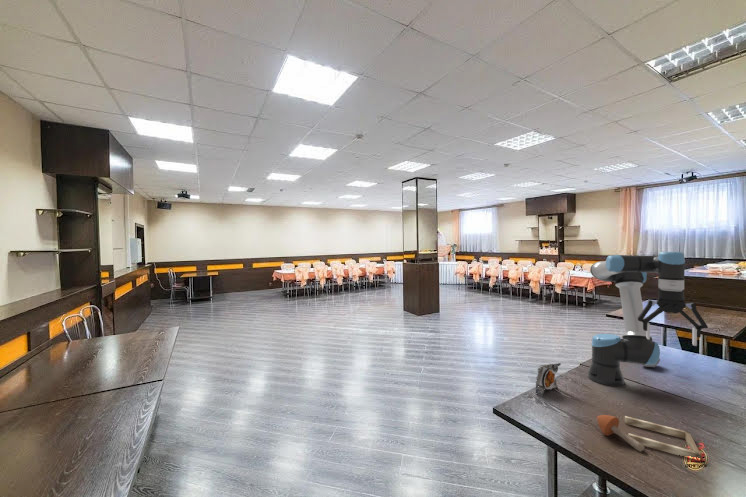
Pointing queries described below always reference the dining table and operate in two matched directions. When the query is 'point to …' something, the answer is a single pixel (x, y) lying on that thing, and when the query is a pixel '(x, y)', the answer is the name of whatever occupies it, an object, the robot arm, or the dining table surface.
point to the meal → (546, 377)
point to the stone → (652, 365)
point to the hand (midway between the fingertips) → (670, 341)
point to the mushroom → (616, 430)
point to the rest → (660, 445)
